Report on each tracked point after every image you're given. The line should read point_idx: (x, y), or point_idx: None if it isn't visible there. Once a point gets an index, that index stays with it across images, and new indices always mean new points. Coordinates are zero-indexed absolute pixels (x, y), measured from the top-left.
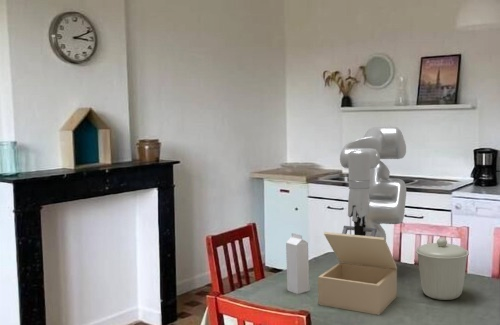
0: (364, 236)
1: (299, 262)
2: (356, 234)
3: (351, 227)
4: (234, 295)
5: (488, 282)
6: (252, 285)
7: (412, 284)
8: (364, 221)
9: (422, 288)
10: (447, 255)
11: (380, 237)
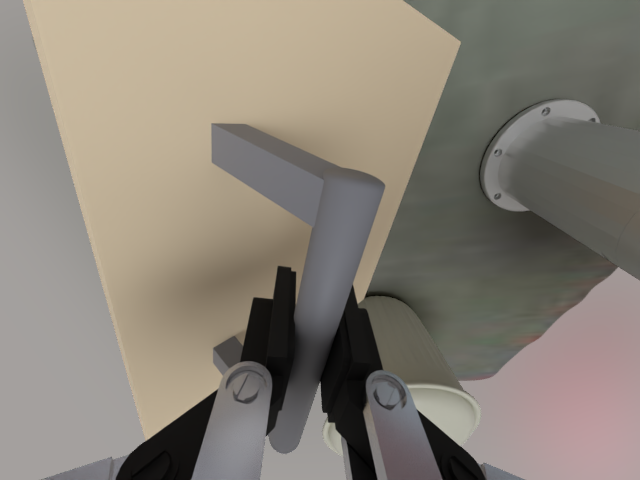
0: (131, 379)
1: None
2: (274, 290)
3: (305, 289)
4: None
5: (461, 373)
6: None
7: (448, 264)
8: (344, 460)
9: (371, 301)
10: (334, 447)
11: None
